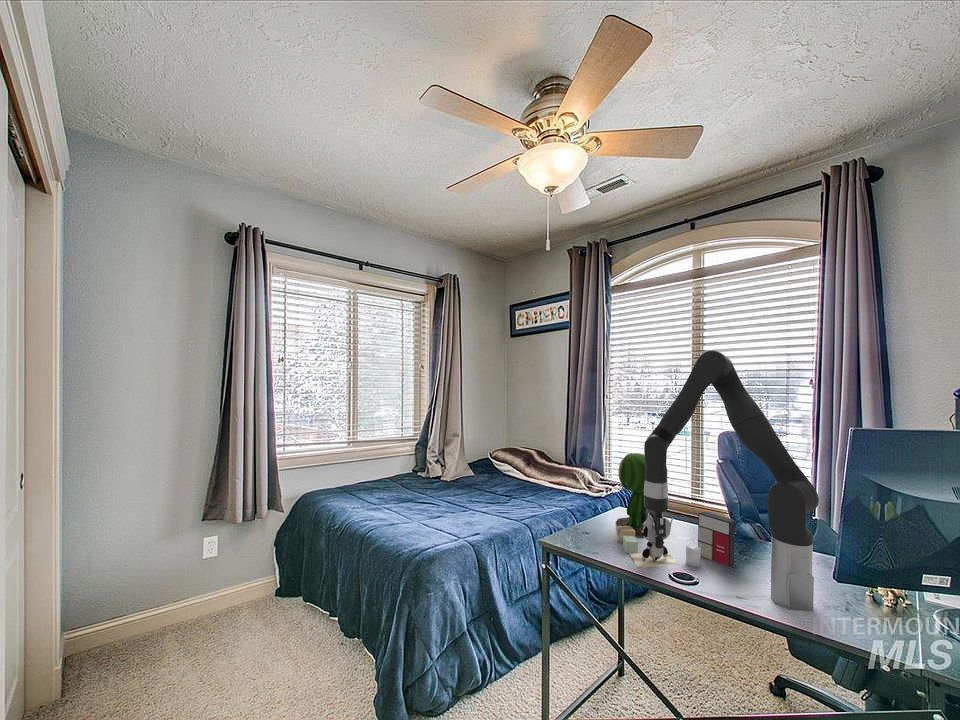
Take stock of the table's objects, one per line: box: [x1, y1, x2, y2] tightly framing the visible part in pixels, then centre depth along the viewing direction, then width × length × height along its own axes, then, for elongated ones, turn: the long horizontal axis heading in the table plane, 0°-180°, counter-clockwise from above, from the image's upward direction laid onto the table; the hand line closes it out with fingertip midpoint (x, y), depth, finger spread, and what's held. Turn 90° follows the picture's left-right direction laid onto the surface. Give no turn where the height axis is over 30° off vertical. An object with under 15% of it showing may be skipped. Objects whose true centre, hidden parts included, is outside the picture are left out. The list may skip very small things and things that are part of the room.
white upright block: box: [685, 544, 702, 568], centre depth 147 cm, size 4×4×6 cm
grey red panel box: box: [697, 510, 737, 566], centre depth 151 cm, size 11×4×15 cm, turn 34°
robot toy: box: [641, 516, 674, 562], centre depth 149 cm, size 12×4×15 cm, turn 113°
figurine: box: [615, 452, 646, 539], centre depth 178 cm, size 17×20×30 cm
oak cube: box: [616, 525, 636, 546], centre depth 166 cm, size 5×5×5 cm
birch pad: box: [629, 552, 678, 570], centre depth 148 cm, size 12×14×1 cm
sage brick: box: [622, 536, 639, 553], centre depth 159 cm, size 5×4×4 cm
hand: (655, 542), depth 148 cm, fingers open, 8 cm apart
